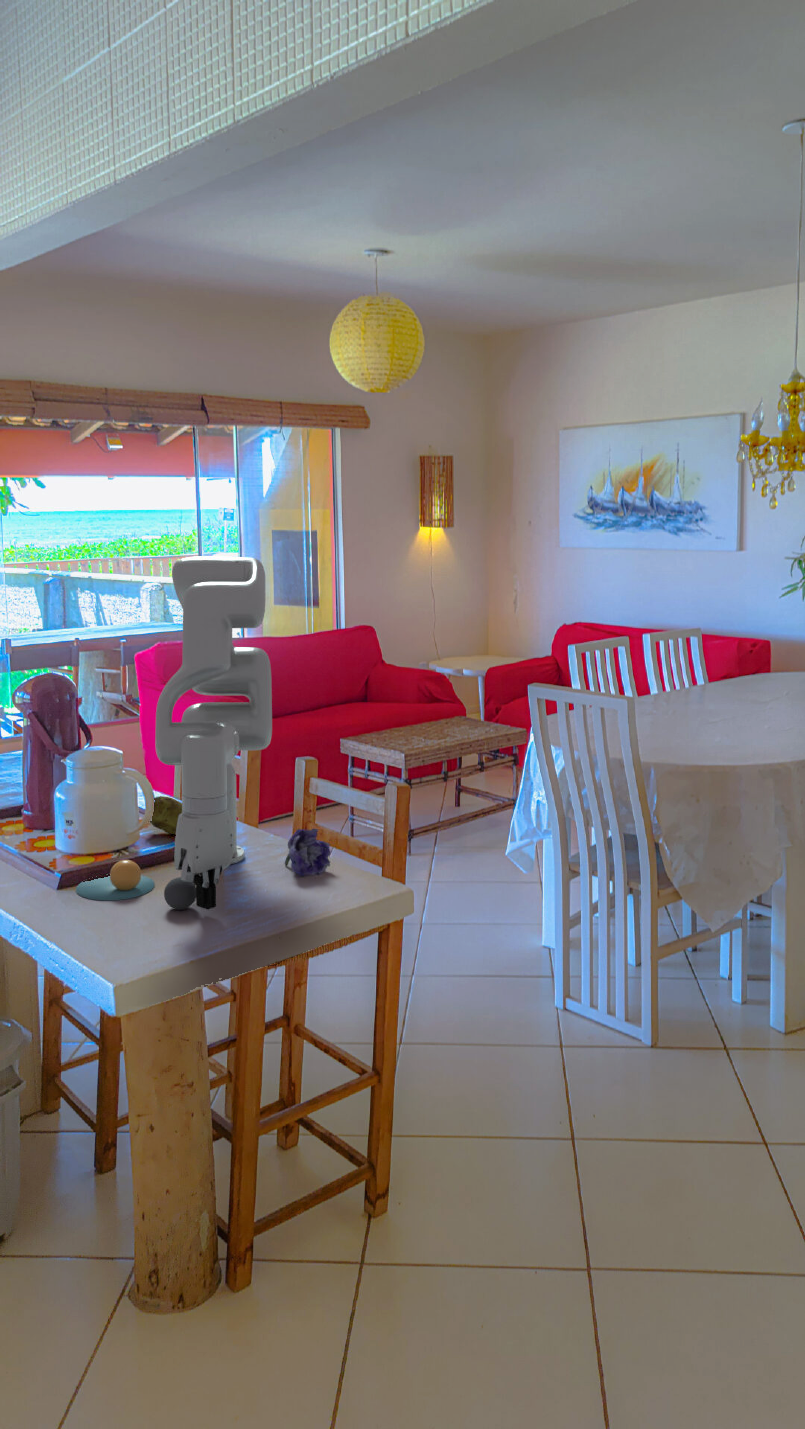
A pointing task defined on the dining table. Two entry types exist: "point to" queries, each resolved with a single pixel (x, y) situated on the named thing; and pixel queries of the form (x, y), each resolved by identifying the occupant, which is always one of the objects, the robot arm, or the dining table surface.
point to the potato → (166, 814)
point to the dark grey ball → (180, 894)
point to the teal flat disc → (112, 889)
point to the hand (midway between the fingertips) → (206, 906)
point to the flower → (307, 853)
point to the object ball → (125, 875)
